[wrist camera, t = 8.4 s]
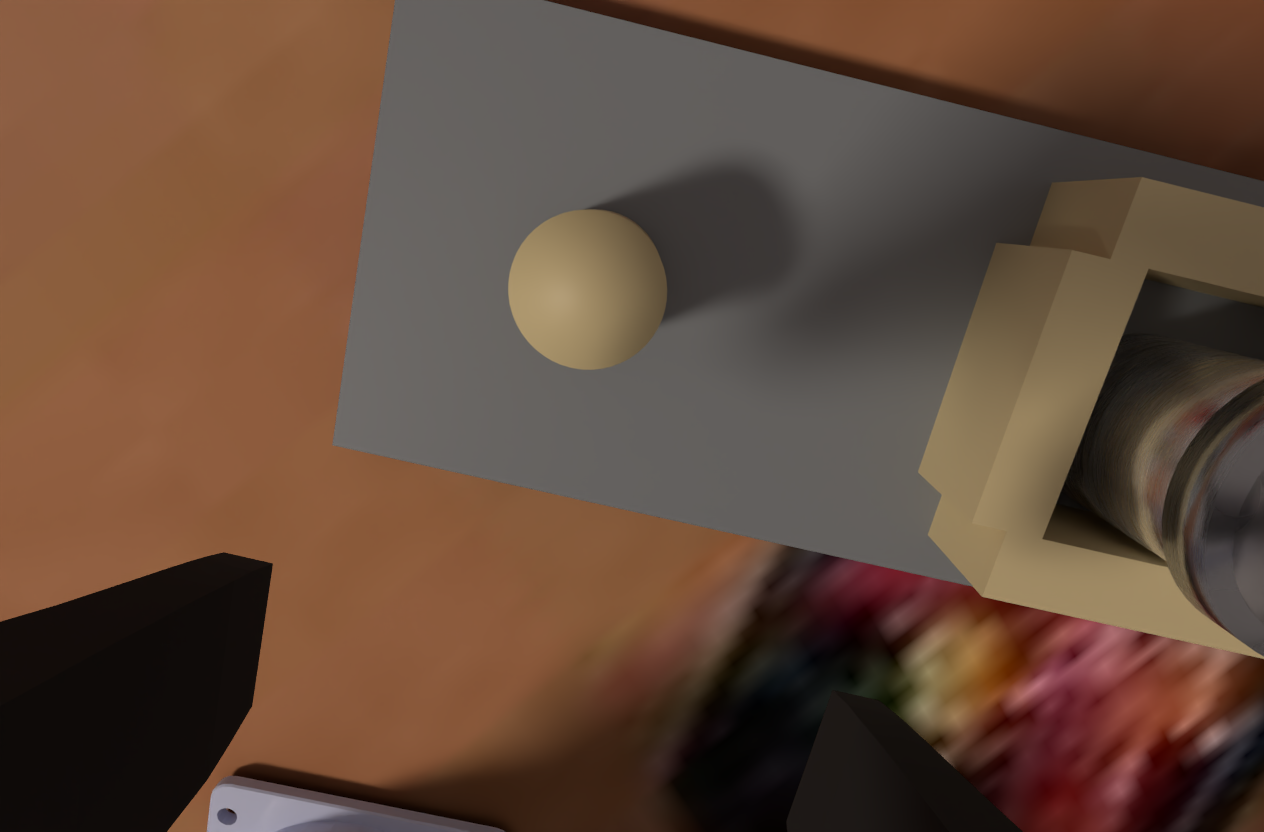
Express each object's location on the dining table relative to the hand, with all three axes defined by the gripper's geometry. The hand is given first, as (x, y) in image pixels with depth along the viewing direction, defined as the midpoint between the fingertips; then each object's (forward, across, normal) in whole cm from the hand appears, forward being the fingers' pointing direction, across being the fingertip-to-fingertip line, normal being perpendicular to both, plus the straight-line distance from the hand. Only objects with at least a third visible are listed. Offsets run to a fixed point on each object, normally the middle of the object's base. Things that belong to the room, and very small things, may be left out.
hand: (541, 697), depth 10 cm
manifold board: (+9, -6, -5) cm, 12 cm away
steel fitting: (+8, -11, -4) cm, 15 cm away
